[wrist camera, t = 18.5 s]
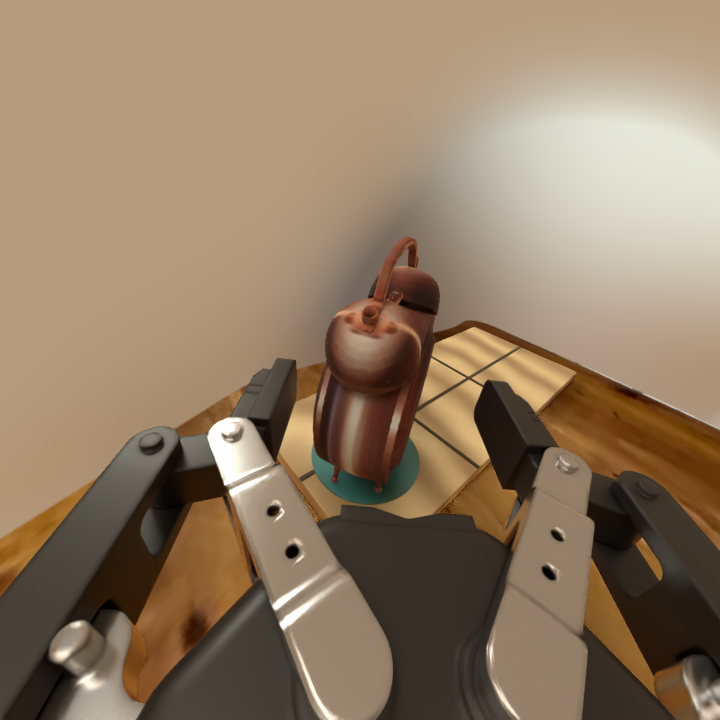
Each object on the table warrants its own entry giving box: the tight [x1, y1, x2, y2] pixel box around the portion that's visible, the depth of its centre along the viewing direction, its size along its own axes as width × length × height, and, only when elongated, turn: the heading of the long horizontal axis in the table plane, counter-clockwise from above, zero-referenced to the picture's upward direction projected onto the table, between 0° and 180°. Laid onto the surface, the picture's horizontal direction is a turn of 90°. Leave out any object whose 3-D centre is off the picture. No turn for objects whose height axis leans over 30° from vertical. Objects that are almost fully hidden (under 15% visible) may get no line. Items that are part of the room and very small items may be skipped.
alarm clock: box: [313, 237, 440, 493], centre depth 18 cm, size 11×5×15 cm, turn 160°
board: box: [277, 327, 577, 520], centre depth 30 cm, size 34×14×1 cm, turn 131°
